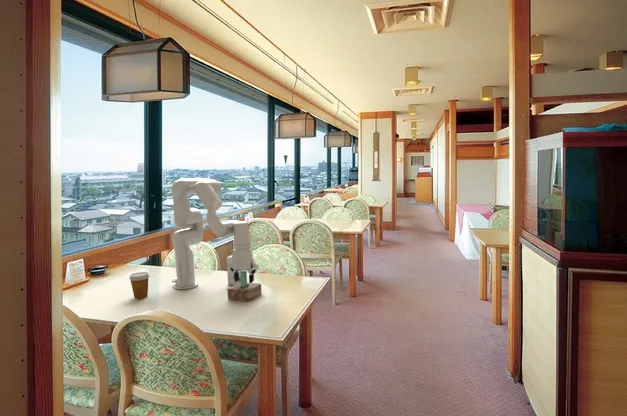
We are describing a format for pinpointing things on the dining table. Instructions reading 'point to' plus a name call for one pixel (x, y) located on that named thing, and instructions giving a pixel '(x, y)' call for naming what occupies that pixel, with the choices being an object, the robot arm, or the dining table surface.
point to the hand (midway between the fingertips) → (244, 281)
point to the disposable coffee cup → (139, 284)
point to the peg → (243, 279)
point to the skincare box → (230, 273)
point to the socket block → (244, 292)
